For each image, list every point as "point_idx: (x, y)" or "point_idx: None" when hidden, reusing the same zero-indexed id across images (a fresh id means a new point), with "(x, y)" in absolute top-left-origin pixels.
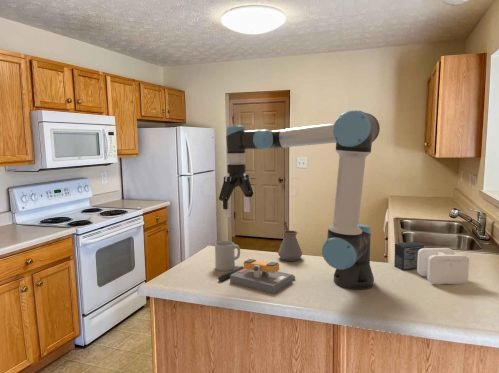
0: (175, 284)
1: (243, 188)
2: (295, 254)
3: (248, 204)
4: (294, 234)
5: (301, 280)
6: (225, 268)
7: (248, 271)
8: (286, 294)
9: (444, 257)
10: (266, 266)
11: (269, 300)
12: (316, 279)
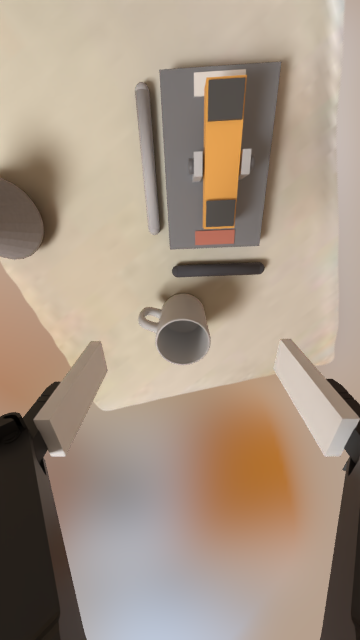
0: (311, 327)
1: (59, 562)
2: (7, 184)
3: (81, 375)
4: None
5: (133, 60)
6: (199, 301)
7: None
8: (256, 31)
9: None
10: (242, 118)
11: (317, 56)
12: (91, 7)
